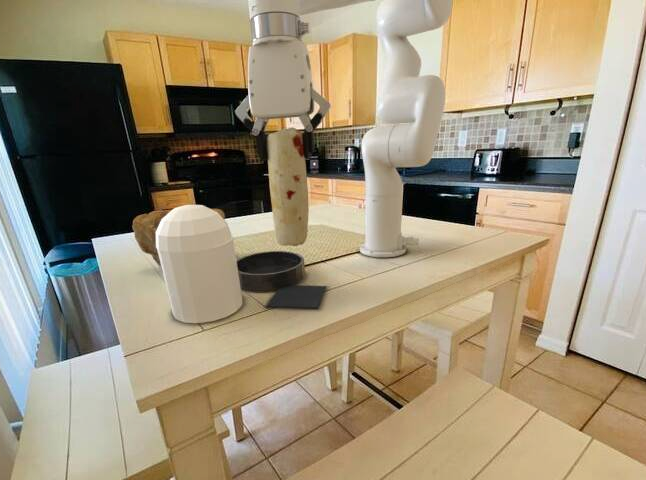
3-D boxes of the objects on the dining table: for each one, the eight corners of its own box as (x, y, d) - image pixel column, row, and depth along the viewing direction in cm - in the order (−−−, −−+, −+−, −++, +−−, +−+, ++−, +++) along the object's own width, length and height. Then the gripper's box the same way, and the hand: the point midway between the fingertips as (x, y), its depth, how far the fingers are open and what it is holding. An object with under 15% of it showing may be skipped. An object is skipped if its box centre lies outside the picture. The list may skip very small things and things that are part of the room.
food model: (316, 247, 60) (310, 124, 52) (279, 252, 59) (268, 126, 51) (304, 234, 69) (298, 128, 61) (272, 238, 68) (261, 129, 60)
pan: (310, 266, 85) (309, 251, 83) (295, 293, 70) (294, 275, 68) (249, 265, 88) (247, 250, 86) (222, 291, 73) (219, 274, 72)
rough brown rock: (139, 290, 78) (123, 228, 71) (143, 264, 92) (130, 210, 85) (239, 275, 86) (233, 218, 79) (229, 253, 100) (223, 202, 93)
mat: (325, 287, 72) (325, 285, 72) (317, 309, 63) (317, 307, 63) (280, 286, 74) (280, 285, 73) (266, 307, 65) (266, 305, 64)
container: (173, 330, 58) (144, 215, 51) (171, 300, 70) (148, 203, 62) (249, 312, 63) (233, 205, 55) (236, 287, 74) (221, 195, 67)
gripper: (335, 36, 53) (338, 155, 60) (233, 48, 56) (246, 160, 63) (328, 20, 46) (333, 157, 53) (212, 35, 50) (230, 162, 56)
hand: (286, 158), depth 58 cm, fingers closed on food model, 7 cm apart
